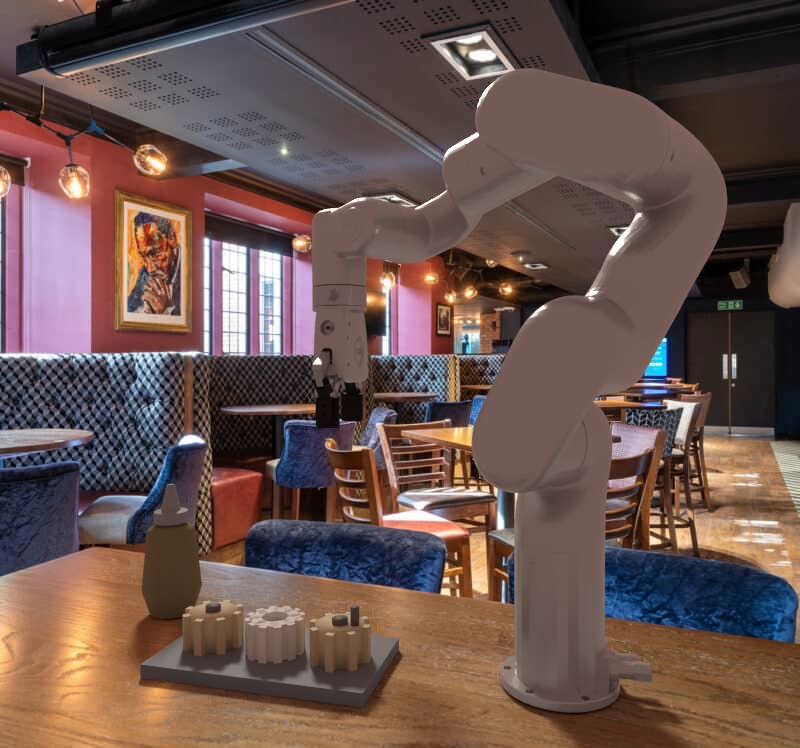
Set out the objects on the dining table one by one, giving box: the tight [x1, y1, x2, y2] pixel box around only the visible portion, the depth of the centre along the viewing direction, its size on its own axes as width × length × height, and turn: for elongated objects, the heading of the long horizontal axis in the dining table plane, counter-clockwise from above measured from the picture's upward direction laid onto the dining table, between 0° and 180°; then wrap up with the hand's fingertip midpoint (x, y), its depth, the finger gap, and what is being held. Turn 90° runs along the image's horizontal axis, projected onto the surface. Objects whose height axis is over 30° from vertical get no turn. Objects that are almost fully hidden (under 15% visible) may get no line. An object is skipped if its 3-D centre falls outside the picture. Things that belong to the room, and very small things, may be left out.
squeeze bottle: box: [141, 483, 203, 620], centre depth 94 cm, size 8×8×18 cm
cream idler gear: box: [244, 605, 306, 664], centre depth 78 cm, size 7×7×4 cm
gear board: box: [139, 599, 400, 709], centre depth 78 cm, size 26×14×8 cm, turn 75°
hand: (340, 424), depth 94 cm, fingers open, 9 cm apart
